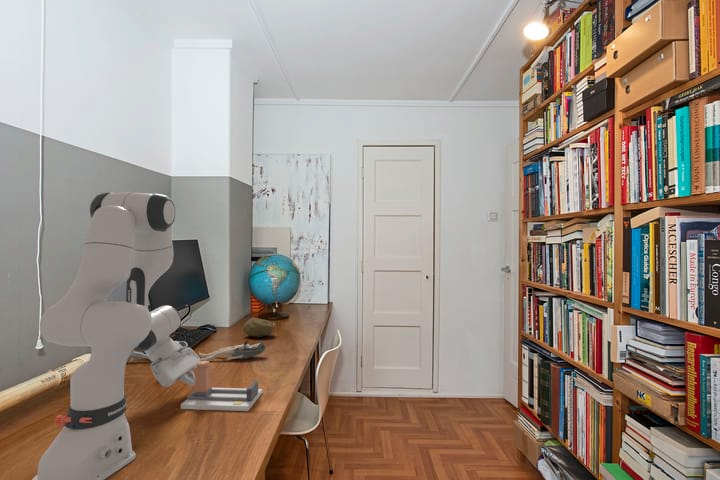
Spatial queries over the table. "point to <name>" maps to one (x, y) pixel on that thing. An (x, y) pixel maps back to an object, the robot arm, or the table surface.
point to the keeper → (203, 379)
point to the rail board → (225, 399)
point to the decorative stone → (258, 327)
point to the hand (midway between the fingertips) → (194, 384)
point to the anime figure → (236, 351)
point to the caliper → (137, 356)
